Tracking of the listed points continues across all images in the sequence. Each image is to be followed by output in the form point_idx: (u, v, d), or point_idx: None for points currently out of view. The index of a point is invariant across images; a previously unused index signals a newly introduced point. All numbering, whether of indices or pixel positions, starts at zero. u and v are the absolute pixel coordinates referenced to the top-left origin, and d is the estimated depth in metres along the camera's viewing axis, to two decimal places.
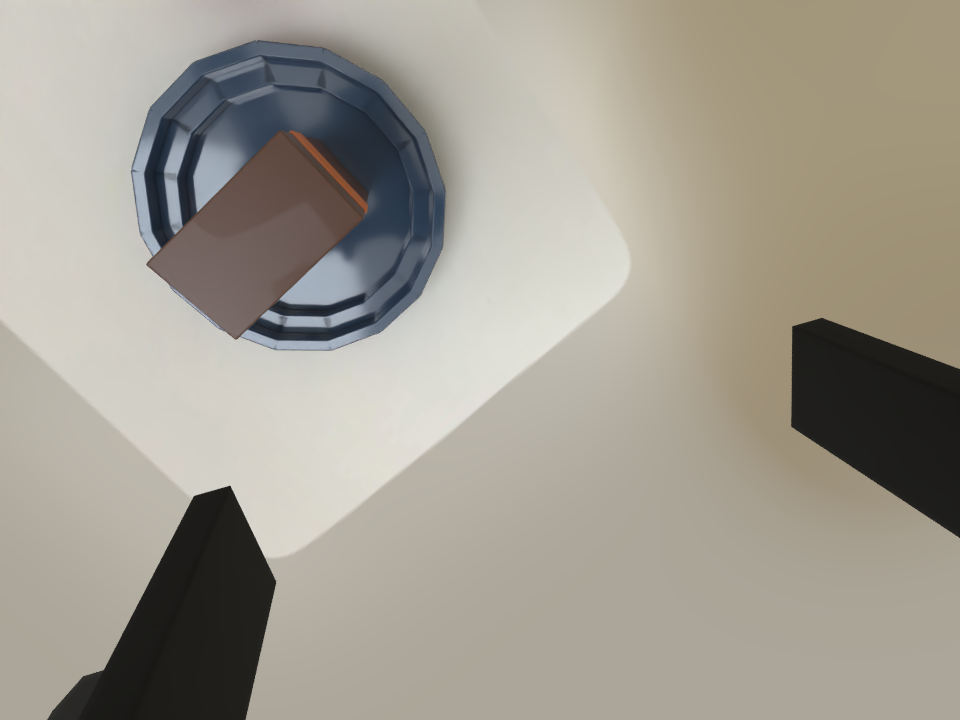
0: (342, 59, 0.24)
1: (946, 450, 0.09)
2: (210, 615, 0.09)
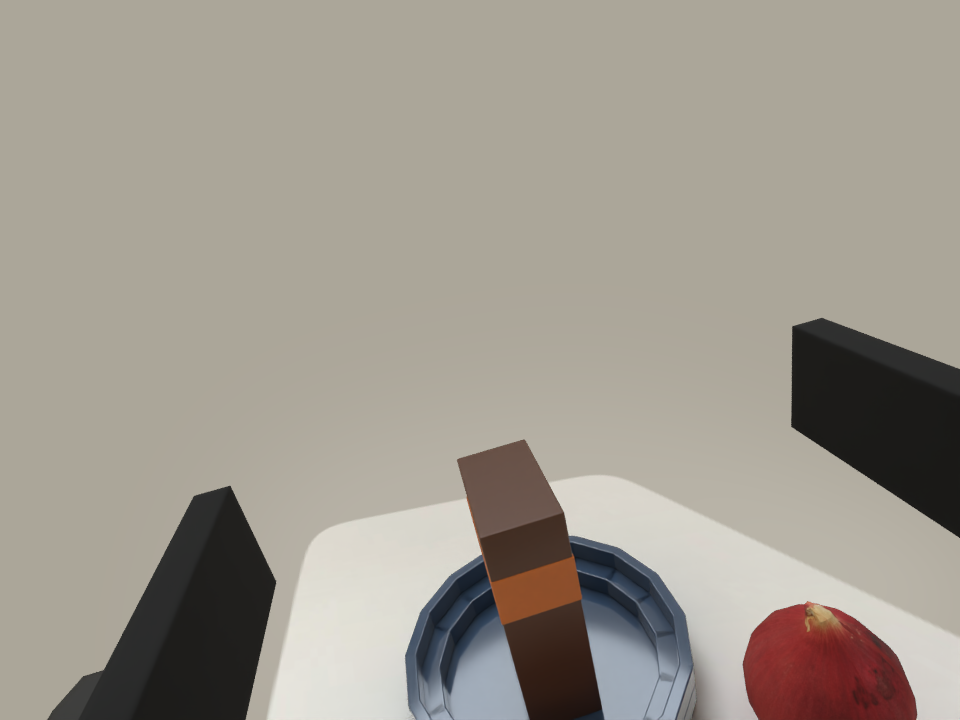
0: None
1: (946, 450, 0.09)
2: (210, 615, 0.09)
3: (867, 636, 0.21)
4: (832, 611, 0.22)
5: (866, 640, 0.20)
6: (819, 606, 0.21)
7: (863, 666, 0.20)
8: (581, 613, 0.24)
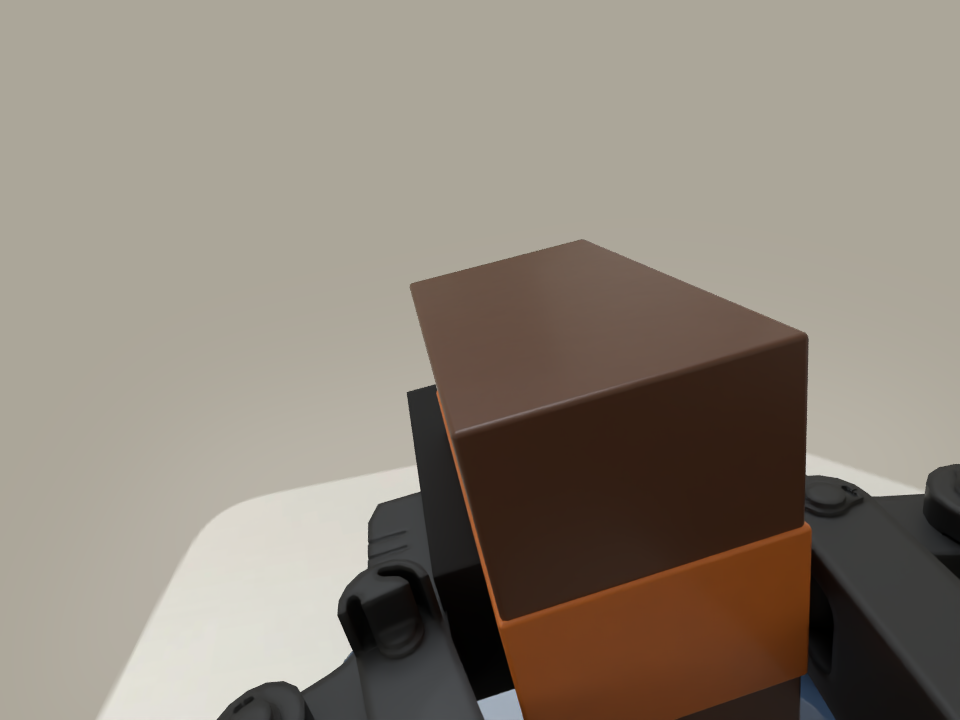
0: None
1: None
2: None
3: None
4: None
5: None
6: None
7: None
8: (794, 717, 0.07)
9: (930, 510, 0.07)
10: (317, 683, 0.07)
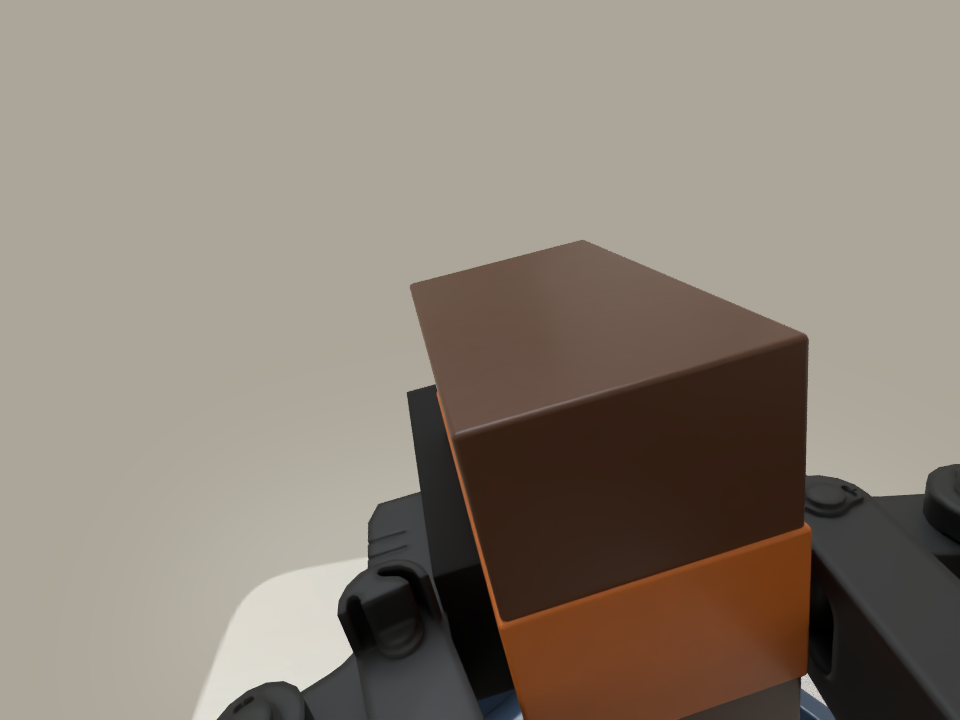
0: None
1: None
2: None
3: None
4: None
5: None
6: None
7: None
8: (794, 717, 0.07)
9: (930, 511, 0.07)
10: (317, 683, 0.07)
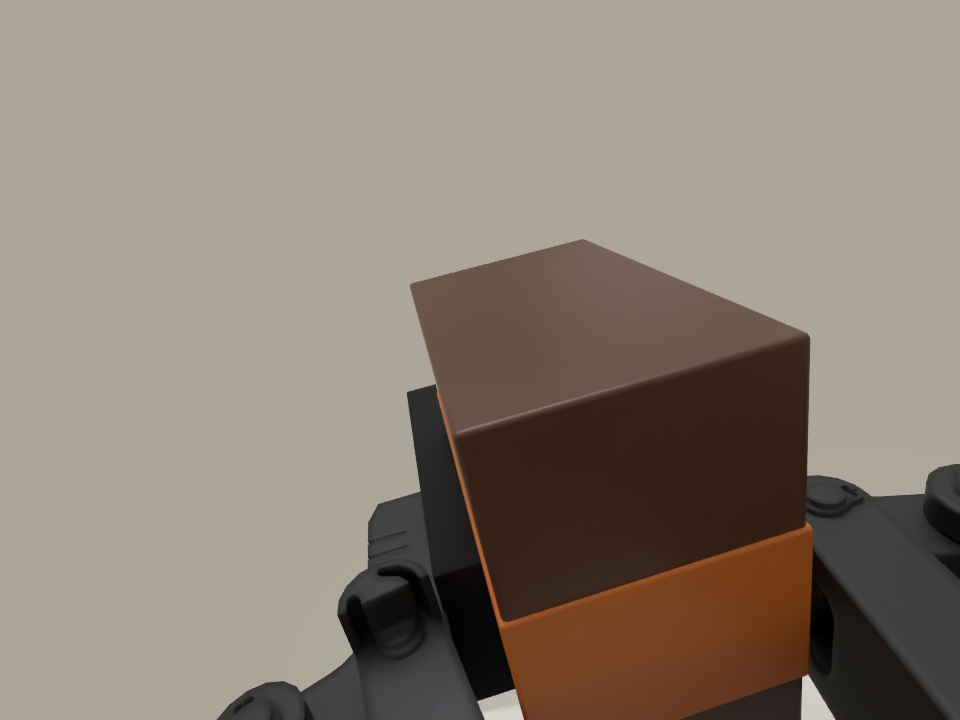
0: None
1: None
2: None
3: None
4: None
5: None
6: None
7: None
8: (795, 718, 0.07)
9: (930, 511, 0.07)
10: (317, 683, 0.07)
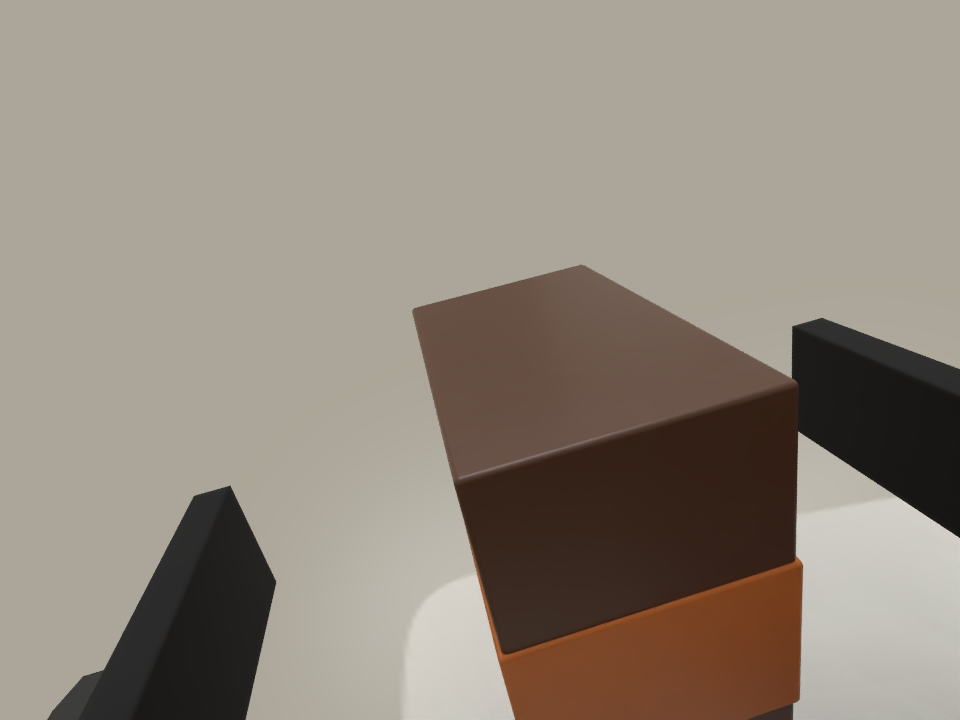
0: None
1: (946, 450, 0.09)
2: (210, 615, 0.09)
3: None
4: None
5: None
6: None
7: None
8: None
9: None
10: None
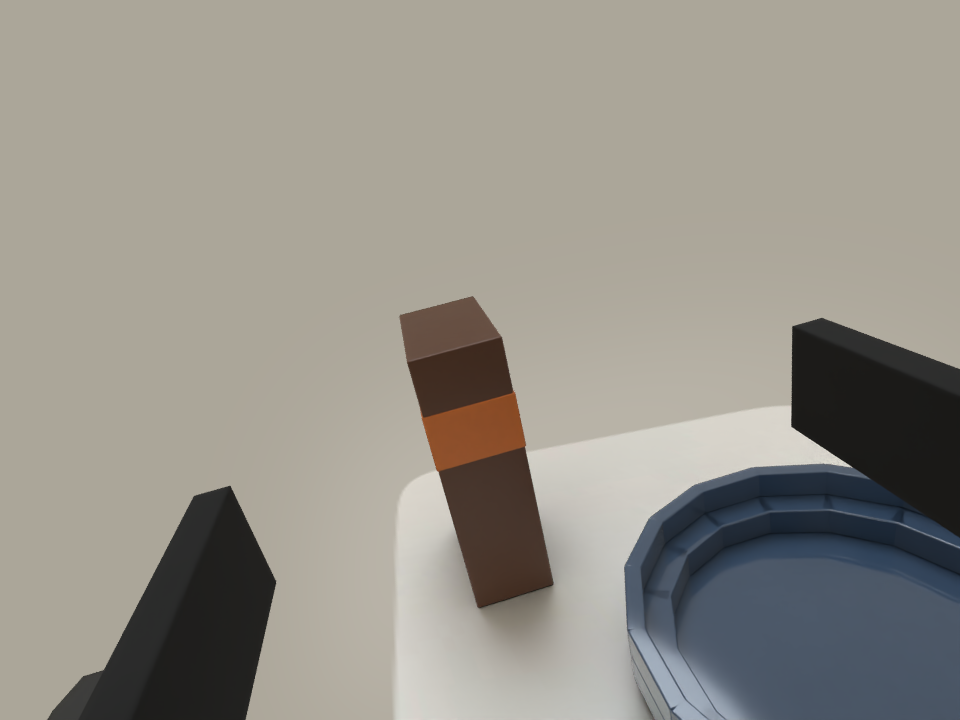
0: None
1: (946, 450, 0.09)
2: (210, 615, 0.09)
3: None
4: None
5: None
6: None
7: None
8: (525, 464, 0.22)
9: None
10: None
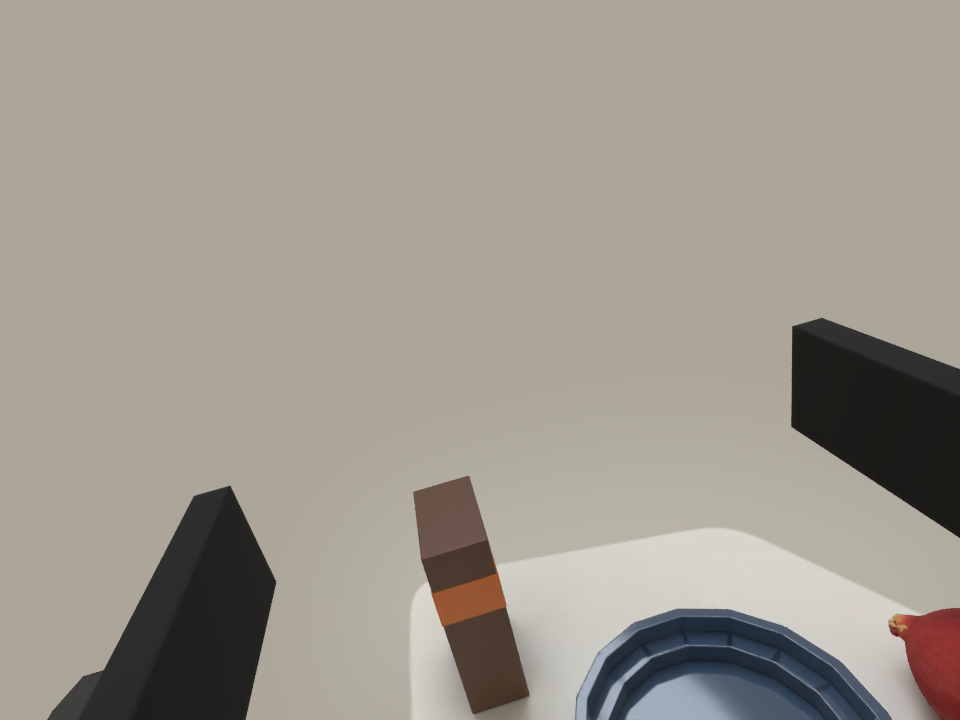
0: None
1: (946, 450, 0.09)
2: (210, 615, 0.09)
3: None
4: None
5: None
6: None
7: None
8: (506, 617, 0.30)
9: None
10: None
